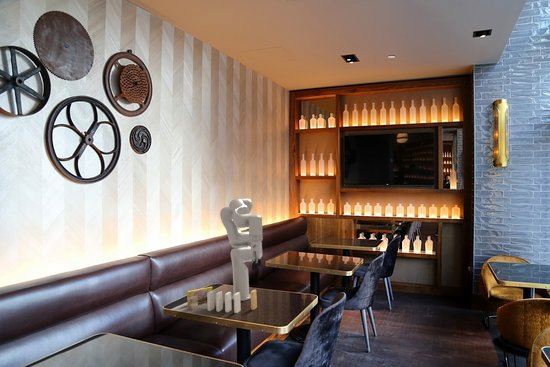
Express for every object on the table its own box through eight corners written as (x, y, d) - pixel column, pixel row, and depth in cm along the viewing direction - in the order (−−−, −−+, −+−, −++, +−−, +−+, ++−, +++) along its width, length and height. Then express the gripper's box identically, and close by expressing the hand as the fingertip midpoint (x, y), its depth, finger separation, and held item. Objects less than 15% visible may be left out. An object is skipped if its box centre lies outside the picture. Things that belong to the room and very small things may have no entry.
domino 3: (225, 312, 219) (224, 294, 219) (229, 309, 224) (228, 291, 224) (228, 312, 218) (227, 294, 218) (231, 309, 223) (231, 291, 223)
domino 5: (251, 309, 222) (250, 291, 222) (254, 306, 226) (253, 289, 226) (253, 309, 221) (253, 292, 221) (257, 307, 226) (256, 289, 226)
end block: (187, 309, 226) (187, 299, 226) (193, 306, 232) (192, 296, 232) (192, 309, 225) (192, 299, 225) (197, 306, 231) (197, 296, 231)
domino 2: (216, 311, 221) (215, 293, 221) (220, 308, 226) (219, 291, 225) (219, 311, 220) (218, 293, 220) (223, 308, 225) (222, 291, 225)
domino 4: (234, 312, 217) (233, 294, 217) (238, 309, 222) (237, 292, 222) (237, 313, 217) (236, 294, 217) (240, 310, 221) (240, 292, 221)
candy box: (188, 305, 233) (188, 291, 233) (187, 305, 235) (186, 291, 235) (213, 300, 243) (212, 286, 243) (211, 299, 244) (211, 286, 244)
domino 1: (207, 310, 223) (207, 293, 222) (211, 307, 227) (211, 290, 227) (210, 310, 222) (209, 293, 222) (214, 308, 227) (213, 290, 227)
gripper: (259, 240, 210) (260, 272, 210) (264, 235, 227) (265, 264, 227) (246, 240, 211) (246, 272, 211) (252, 235, 228) (252, 264, 228)
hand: (256, 268), depth 219 cm, fingers open, 9 cm apart
